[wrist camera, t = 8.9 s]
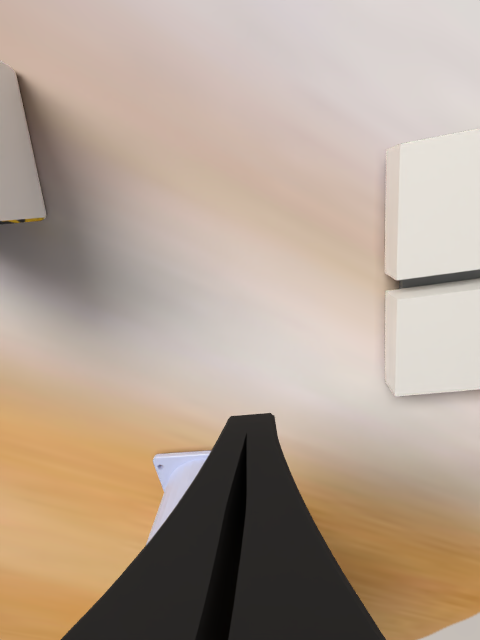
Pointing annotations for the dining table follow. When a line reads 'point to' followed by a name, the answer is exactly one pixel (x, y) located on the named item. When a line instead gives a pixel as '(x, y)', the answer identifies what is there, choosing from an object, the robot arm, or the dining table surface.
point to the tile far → (433, 338)
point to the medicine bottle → (16, 157)
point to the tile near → (433, 206)
